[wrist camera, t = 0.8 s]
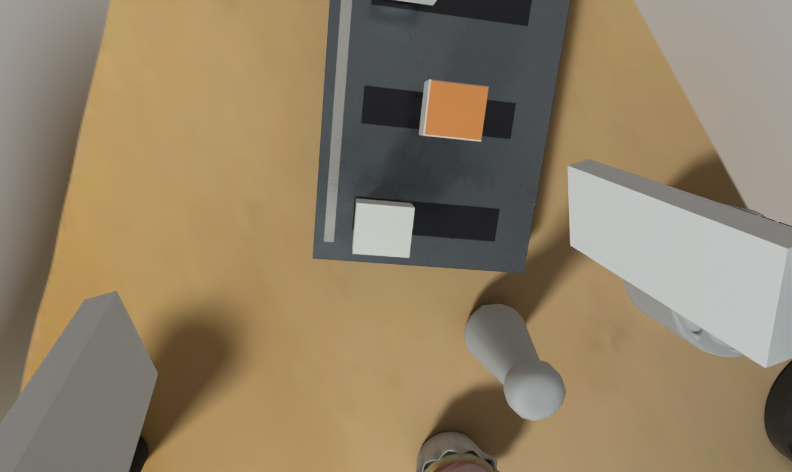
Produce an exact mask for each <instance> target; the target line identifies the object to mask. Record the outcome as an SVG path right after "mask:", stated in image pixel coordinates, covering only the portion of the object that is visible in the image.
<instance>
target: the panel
mask: <svg viewBox="0 0 792 472" xmlns="http://www.w3.org/2000/svg"><path fill="white" fill-rule="evenodd" d="M569 4H570V0H437V1H436V2H435V3H434V5H426V4H419V3H412V2H404V1H397V0H330V5H329V20H328V35H327V50H326V66H325V81H324V96H323V111H322V126H321V141H320V156H319V171H318V186H317V201H316V217H315V232H314V247H313V258H314V259H328V260H342V261H357V262H371V263H385V264H399V265H413V266H428V267H442V268H456V269H470V270H485V271H499V272H513V273H524V268H525V262H526V256H527V250H528V244H529V238H530V233H531V227H532V221H533V215H534V209H535V203H536V197H537V192H538V186H539V180H540V174H541V168H542V162H543V156H544V151H545V145H546V139H547V133H548V127H549V121H550V115H551V110H552V104H553V98H554V92H555V86H556V80H557V74H558V69H559V63H560V57H561V51H562V45H563V39H564V33H565V28H566V22H567V16H568V10H569ZM429 79H431V80H440V81H448V82H456V83H465V84H473V85H481V86H489V89H488V96H487V103H486V110H485V117H484V125H483V132H482V139H481V142H479V141H470V140H460V139H451V138H441V137H432V136H422V135H419V127H420V118H421V109H422V100H423V91H424V82H425V81H427V80H429ZM356 198H358V199H369V200H381V201H392V202H404V203H411V204H412V205H413V206H414V207H415V211H414V220H413V229H412V238H411V246H410V255H409V258H403V257H389V256H376V255H362V254H353V253H352V243H353V232H354V220H355V208H356Z"/></svg>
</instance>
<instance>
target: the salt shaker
mask: <svg viewBox="0 0 792 472" xmlns="http://www.w3.org/2000/svg"><path fill="white" fill-rule="evenodd" d="M464 338H465V341H466V345H467V348H468V351H469V352H470V353H471V354H472V355H473V356H474V357H475V358H476V359H477V360H478V361H479V362H481V363H482V364H483V365H484V366H485V367H486V368H487V369H488V370H489V371H490V372H491V373H492V374H493V375H494V376H495V377H496V378H497V379H498V380H499V381H500V382H501V383H502V384H503V385H504V387H503V390H504V393H505V397H506V400H507V402H508V405H509V406H510V407H511V408H512V409H513V410H514V411H515V412H516V413H517V414H518V415H519V416H520V417H522V418H525V419H529V420H532V421H534V420H540V419H545V418H547V417H549V416H550V415H552V414H554V413H556V411H557V410H558V409H559V407H560V406H561V405H562V403H563V401H564V397H565V393H566V390H565V386H564V383H563V380H562V378H561V376H560V374H559V373H558V372H557V371H556V370H555V369H554V368H553V367H552V366H551V365H550V364H549V363H547V362H544V361H540V360H539V357H538V355H537V353H536V350H535V348H534V345H533V343H532V340H531V337H530V335H529V332H528V330H527V327H526V325H525V322H524V320H523V318H522V317H521V315H520V314H519V313H518V312H517V311H516V310H515V309H514V308H512V307H509V306H506V305H502V304H490V305H481V306H480V307H479V308H478V309H477V310H476V311H475V312H474V313H473V314H472V315H471V316H470V317H469V318H468V320H467V322H466V327H465V333H464Z"/></svg>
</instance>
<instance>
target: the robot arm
mask: <svg viewBox="0 0 792 472" xmlns="http://www.w3.org/2000/svg"><path fill="white" fill-rule="evenodd" d="M568 192H569V224H570V246H572V247H574V248H575V249H577V250H578V251H580V252H581V253H583V254H585V255H586V256H588V257H589V258H591V259H593V260H594V261H596V262H597V263H599V264H601V265H602V266H604V267H605V268H607V269H609V270H610V271H612V272H613V273H615V274H616V275H618V276H620V277H621V278H623V279H624V280H626V281H628V282H629V283H631V284H632V285H634V286H636V287H637V288H639V289H640V290H642V291H643V292H645V293H647V294H648V295H650V296H651V297H653V298H655V299H656V300H658V301H659V302H661V303H663V304H664V305H666V306H667V307H669V308H671V309H672V310H674V311H675V312H677V313H678V314H680V315H682V316H683V317H685V318H686V319H688V320H690V321H691V322H693V323H694V324H696V325H698V326H699V327H701V328H702V329H704V330H705V331H707V332H709V333H710V334H712V335H713V336H715V337H717V338H718V339H720V340H721V341H723V342H725V343H726V344H728V345H729V346H731V347H733V348H734V349H736V350H737V351H739V352H740V353H742V354H744V355H745V356H747V357H748V358H750V359H752V360H753V361H755V362H756V363H758V364H760V365H761V366H763V367H764V368H768V367H771V366H773V365H776V364H778V363H781V362H783V361H786V360H788V359H791V358H792V226H789V225H786V224H783V223H781V222H779V223H778V222H775V221H774V220H771V219H768V218H766V217H763V216H761V217H760V216H757V214H754V213H751V212H748V211H745V210H742V209H739V208H735V207H730V206H727V205H724V204H721V203H718V202H715V201H712V200H709V199H706V198H703V197H700V196H697V195H694V194H691V193H688V192H685V191H682V190H679V189H676V188H674V187H671V186H668V185H665V184H662V183H659V182H656V181H653V180H650V179H647V178H644V177H641V176H638V175H635V174H632V173H629V172H626V171H623V170H620V169H617V168H614V167H611V166H608V165H605V164H602V163H599V162H596V161H593V160H590V159H589V160H586V161H582V162H579V163H575V164H571V165H568ZM157 377H158V372H157V370H156V368H155V366H154V364H153V362H152V360H151V358H150V356H149V354H148V352H147V350H146V348H145V346H144V344H143V342H142V340H141V338H140V337H139V335H138V333H137V331H136V329H135V327H134V325H133V323H132V321H131V319H130V317H129V315H128V313H127V311H126V309H125V307H124V305H123V303H122V301H121V299H120V297H119V295H118V293H117V291H115V292H111V293H108V294H104V295H100V296H97V297H93V298H90V299H86V300H84V302H83V303H82V305H81V306H80V308H79V309H78V311H77V312H76V314H75V315H74V317H73V318H72V320H71V321H70V322H69V324H68V325H67V327H66V328H65V330H64V331H63V333H62V334H61V336H60V337H59V339H58V340H57V342H56V343H55V345H54V346H53V347H52V349H51V350H50V352H49V353H48V355H47V356H46V358H45V359H44V361H43V362H42V364H41V365H40V367H39V368H38V370H37V371H36V373H35V374H34V375H33V377H32V378H31V380H30V381H29V383H28V384H27V386H26V387H25V389H24V390H23V392H22V393H21V395H20V396H19V398H18V399H17V400H16V402H15V404H14V405H13V406H12V408H11V409H10V411H9V412H8V414H7V415H6V417H5V418H4V420H3V421H2V423H1V424H0V472H129V470H130V467H131V463H132V460H133V457H134V453H135V450H136V447H137V443H138V440H139V437H140V433H141V430H142V427H143V423H144V420H145V417H146V413H147V410H148V407H149V403H150V400H151V397H152V393H153V390H154V387H155V383H156V380H157ZM764 420H765V429H766V432H767V435H768V438H769V440H770V442H771V443H772V445H773V446H774V447H775V448H776V449H777V450H778V451H779V452H780V453H782V454H783V455H784V456H786V457H787V458H788V459H790V460H791V461H792V363H791V364H790V365H789V366H788V367H787V368H786V369H785V370H784V372H783V373H782V374H781V375H780V377H779V378H778V379H777V381H776V383H775V384H774V386H773V388H772V390H771V392H770V394H769V397H768V400H767V403H766V408H765V417H764Z"/></svg>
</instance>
